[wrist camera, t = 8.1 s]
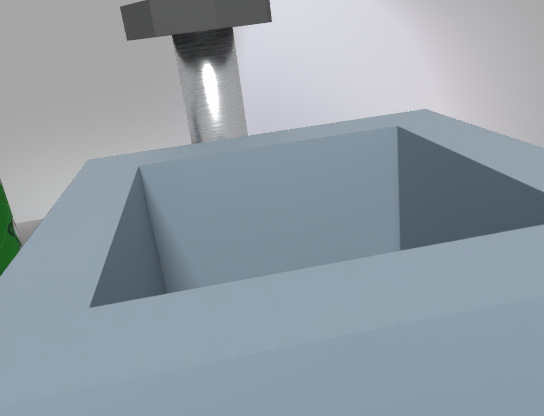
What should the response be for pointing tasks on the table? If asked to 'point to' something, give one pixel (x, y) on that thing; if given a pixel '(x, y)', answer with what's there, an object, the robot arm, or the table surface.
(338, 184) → the sleeve
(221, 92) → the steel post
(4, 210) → the soda can
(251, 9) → the dark gray octagonal nut
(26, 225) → the table surface
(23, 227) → the table surface
